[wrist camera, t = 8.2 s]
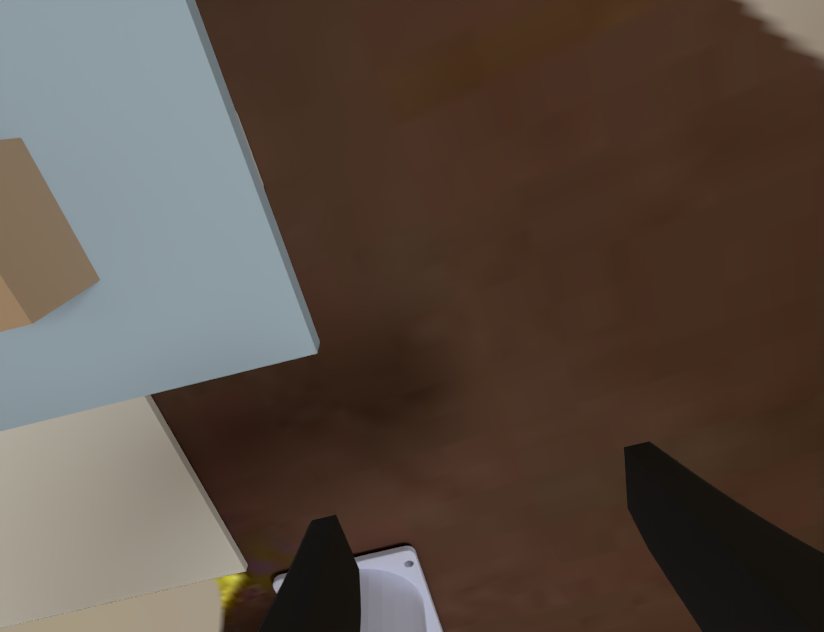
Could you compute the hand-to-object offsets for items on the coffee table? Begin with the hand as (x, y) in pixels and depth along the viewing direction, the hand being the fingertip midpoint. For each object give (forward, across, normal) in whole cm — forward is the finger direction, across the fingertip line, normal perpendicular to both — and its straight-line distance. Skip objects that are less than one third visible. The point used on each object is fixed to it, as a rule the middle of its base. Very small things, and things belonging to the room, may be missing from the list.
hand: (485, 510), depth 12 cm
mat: (+10, +20, +4) cm, 23 cm away
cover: (+6, +10, -9) cm, 15 cm away
